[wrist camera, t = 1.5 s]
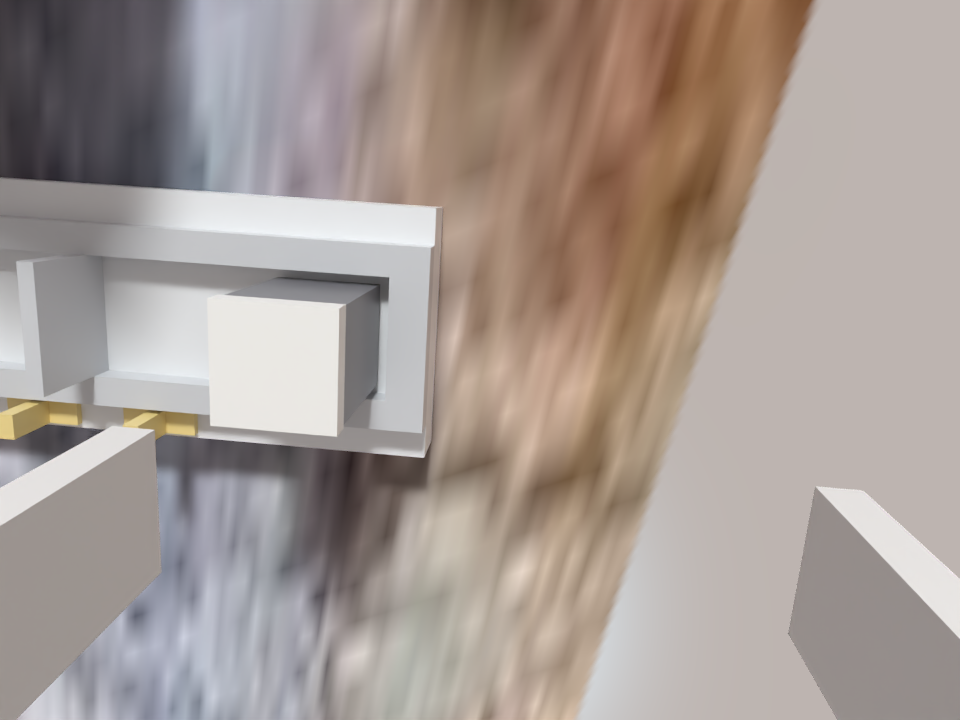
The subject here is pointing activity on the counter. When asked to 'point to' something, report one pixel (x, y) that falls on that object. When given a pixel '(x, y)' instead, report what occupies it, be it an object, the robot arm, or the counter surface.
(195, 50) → the counter surface
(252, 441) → the switch bank
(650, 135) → the counter surface
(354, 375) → the tab
